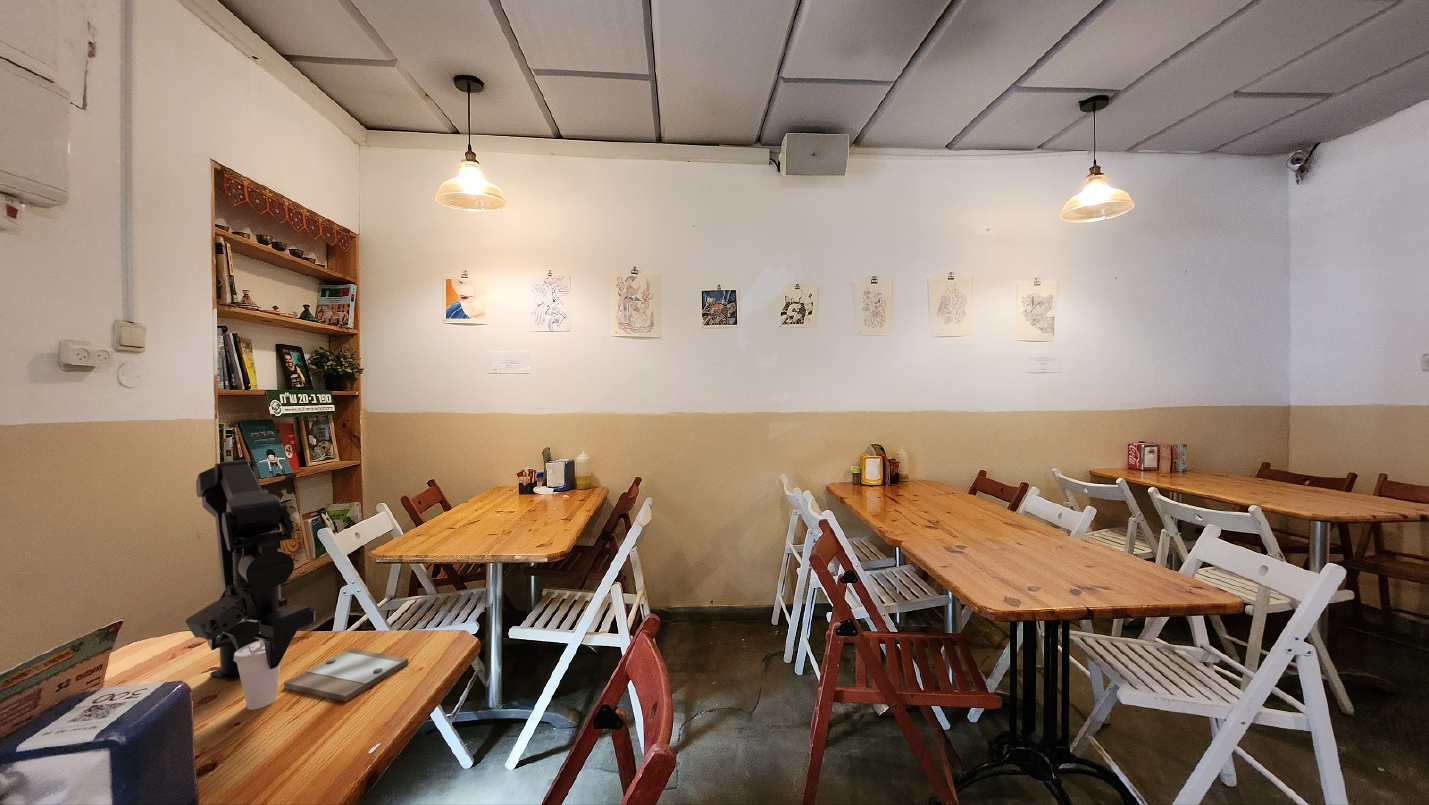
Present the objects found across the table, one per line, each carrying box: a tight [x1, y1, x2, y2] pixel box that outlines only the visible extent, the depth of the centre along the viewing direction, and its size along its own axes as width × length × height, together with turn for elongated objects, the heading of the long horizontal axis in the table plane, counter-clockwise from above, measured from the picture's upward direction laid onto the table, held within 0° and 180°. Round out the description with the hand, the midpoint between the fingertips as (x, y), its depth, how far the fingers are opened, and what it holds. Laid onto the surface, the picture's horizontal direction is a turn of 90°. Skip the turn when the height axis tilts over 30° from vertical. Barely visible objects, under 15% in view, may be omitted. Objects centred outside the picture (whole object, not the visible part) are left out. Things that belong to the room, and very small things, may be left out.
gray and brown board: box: [283, 648, 409, 702], centre depth 90 cm, size 15×12×1 cm
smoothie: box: [234, 622, 282, 711], centre depth 82 cm, size 6×6×14 cm
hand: (260, 665), depth 83 cm, fingers closed on smoothie, 6 cm apart
